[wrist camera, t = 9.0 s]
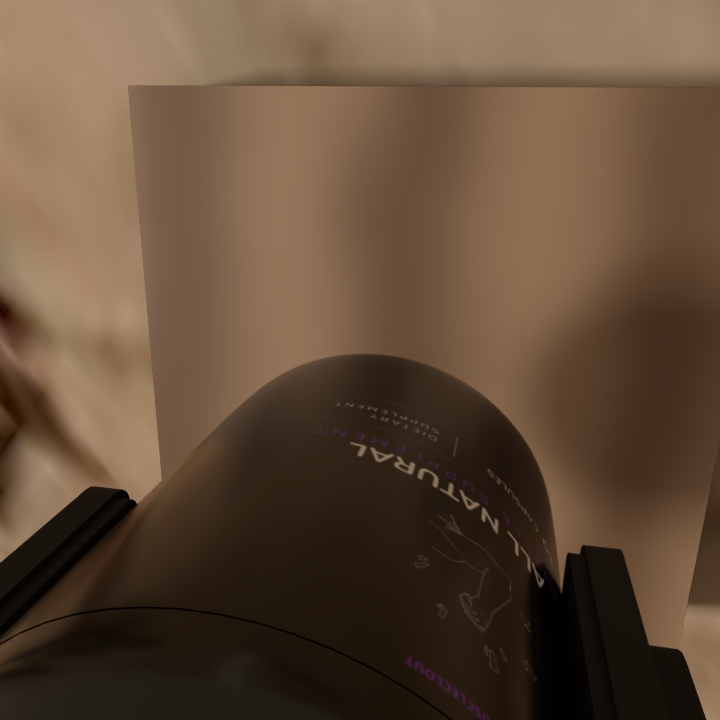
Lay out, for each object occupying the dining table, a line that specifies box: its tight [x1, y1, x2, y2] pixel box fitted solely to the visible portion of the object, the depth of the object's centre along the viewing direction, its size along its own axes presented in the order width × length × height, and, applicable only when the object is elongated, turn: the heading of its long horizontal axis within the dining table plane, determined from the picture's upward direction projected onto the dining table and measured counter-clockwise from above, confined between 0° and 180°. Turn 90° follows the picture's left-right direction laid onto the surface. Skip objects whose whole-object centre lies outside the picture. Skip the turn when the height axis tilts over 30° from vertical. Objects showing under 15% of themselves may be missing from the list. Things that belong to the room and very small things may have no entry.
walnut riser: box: [128, 85, 720, 649], centre depth 21 cm, size 16×16×3 cm
